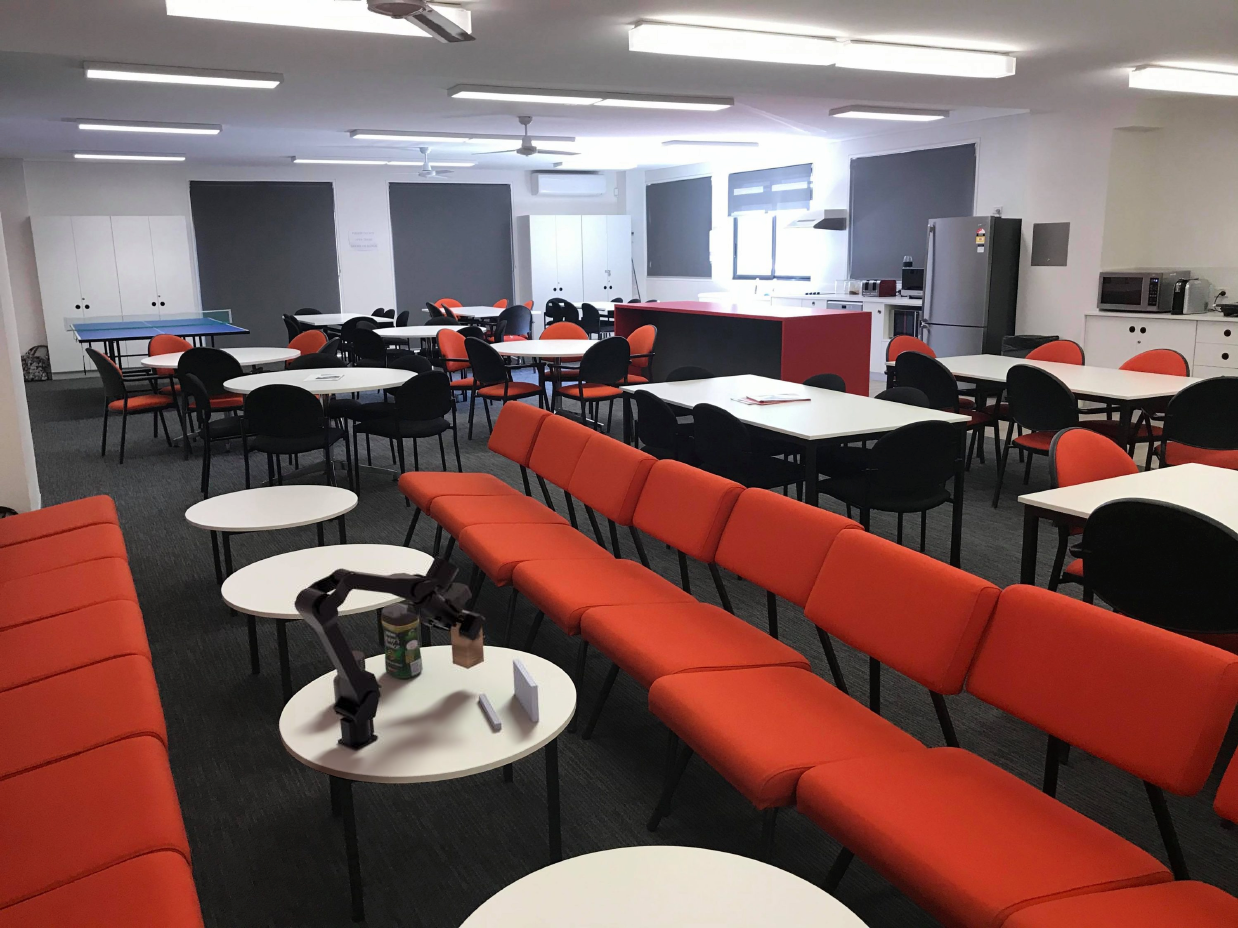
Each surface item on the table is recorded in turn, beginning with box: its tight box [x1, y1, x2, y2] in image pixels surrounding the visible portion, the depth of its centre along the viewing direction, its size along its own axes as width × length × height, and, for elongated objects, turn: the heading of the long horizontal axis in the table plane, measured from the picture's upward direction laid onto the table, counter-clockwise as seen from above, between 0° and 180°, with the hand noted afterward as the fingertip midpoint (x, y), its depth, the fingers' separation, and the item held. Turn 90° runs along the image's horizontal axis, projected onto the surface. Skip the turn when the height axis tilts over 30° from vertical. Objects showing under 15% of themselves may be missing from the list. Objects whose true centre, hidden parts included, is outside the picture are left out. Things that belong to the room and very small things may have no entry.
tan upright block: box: [450, 609, 485, 670], centre depth 234 cm, size 6×6×14 cm
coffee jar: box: [380, 601, 424, 680], centre depth 243 cm, size 10×8×19 cm
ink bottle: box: [332, 650, 366, 704], centre depth 228 cm, size 10×9×12 cm
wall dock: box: [478, 658, 540, 731], centre depth 222 cm, size 10×16×9 cm, turn 22°
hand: (470, 634), depth 235 cm, fingers closed on tan upright block, 5 cm apart
